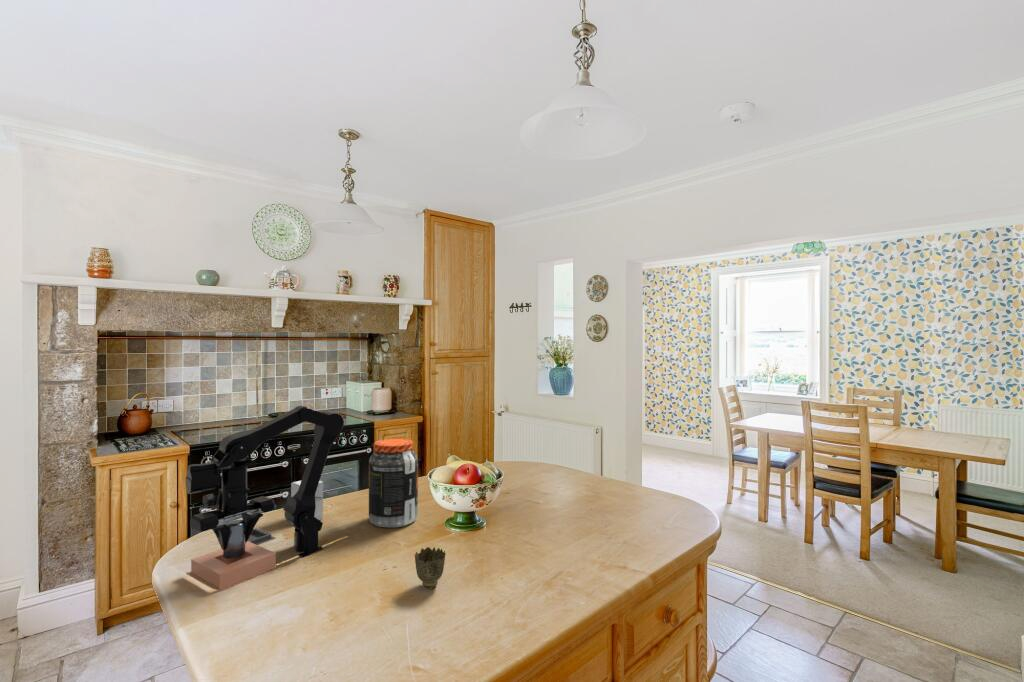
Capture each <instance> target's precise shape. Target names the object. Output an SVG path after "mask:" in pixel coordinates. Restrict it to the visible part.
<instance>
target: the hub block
mask: <svg viewBox="0 0 1024 682" xmlns="http://www.w3.org/2000/svg"><path fill="white" fill-rule="evenodd" d="M276 557H277V553H276V552H274V551H273V550H272V551H271V550H269V549H267V548H265V547H263V546H260V545H256V544H253V543H251V542H249V541H247V542H246V543H245V554H244V555H243V556H241V557H238V558H233V559H226V558H224V557H223V550H222V548H220V549H218V550H214V551H211V552H208V553H206V554H203V555H200V556H196V557H193V558H192V559H190V565H191V566H190V572H191V573H192V574H194V575H196V576H197V577H199V578H201V579H202V580H205V581H206V582H209V583H210V584H212V585H214V586H216V587H214V589H215V590H217V591H219V592H222V591H224V590H226V589H229V588H231V587H233V586H236V585H238V584H241V583H244V582H246V581H248V580H252V579H253V578H256V577H258V576H261V575H263V574H265V573H268V572H270V571H273V570H275V569H276V567H277V566H276V565H277V563H276V562H277V559H276Z"/></svg>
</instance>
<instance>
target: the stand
mask: <svg viewBox="0 0 1024 682" xmlns="http://www.w3.org/2000/svg"><path fill="white" fill-rule="evenodd" d="M275 539H277V537H275V536H272V534H271V533H269V532H266V531H264V530H261V529H259V528H257V527H254V528H253V530H252V532H251V535H250V537H249V539H248V541H249V542H251V543H253V544H256V545H258V546H260V545H261V544H262V545H263V544H264V543H267V542H269V541H272V540H275Z"/></svg>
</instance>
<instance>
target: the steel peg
mask: <svg viewBox="0 0 1024 682" xmlns="http://www.w3.org/2000/svg"><path fill="white" fill-rule="evenodd" d="M224 524H225V525H228V531H227V545H226V550H223V557H224V558H226V559H233V558H238V557H241V556H243V555H244V554H245V521H244V520H243V519H233V520H228V521H226V522H224Z"/></svg>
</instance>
